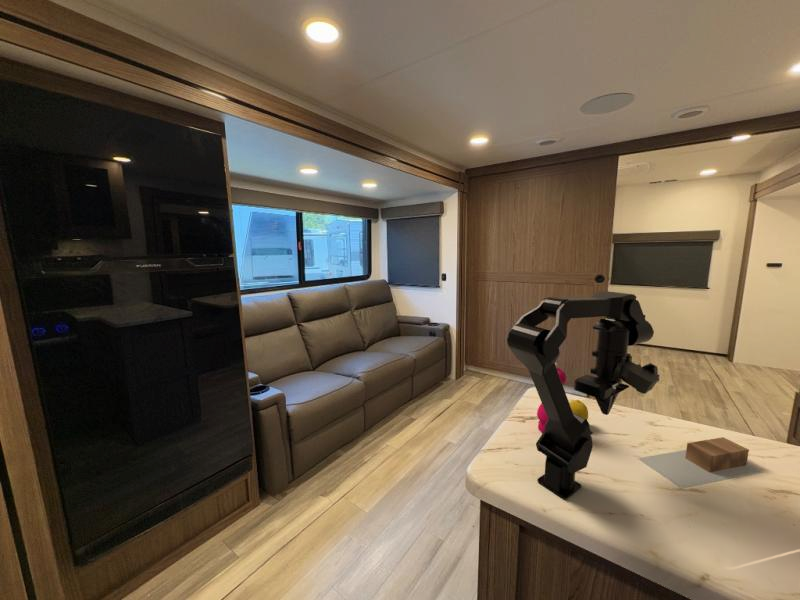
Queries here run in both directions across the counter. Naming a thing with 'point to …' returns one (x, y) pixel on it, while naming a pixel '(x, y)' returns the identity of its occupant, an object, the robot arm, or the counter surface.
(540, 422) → the pepper mill
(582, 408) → the lemon
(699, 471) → the strip
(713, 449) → the walnut block
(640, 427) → the counter surface
